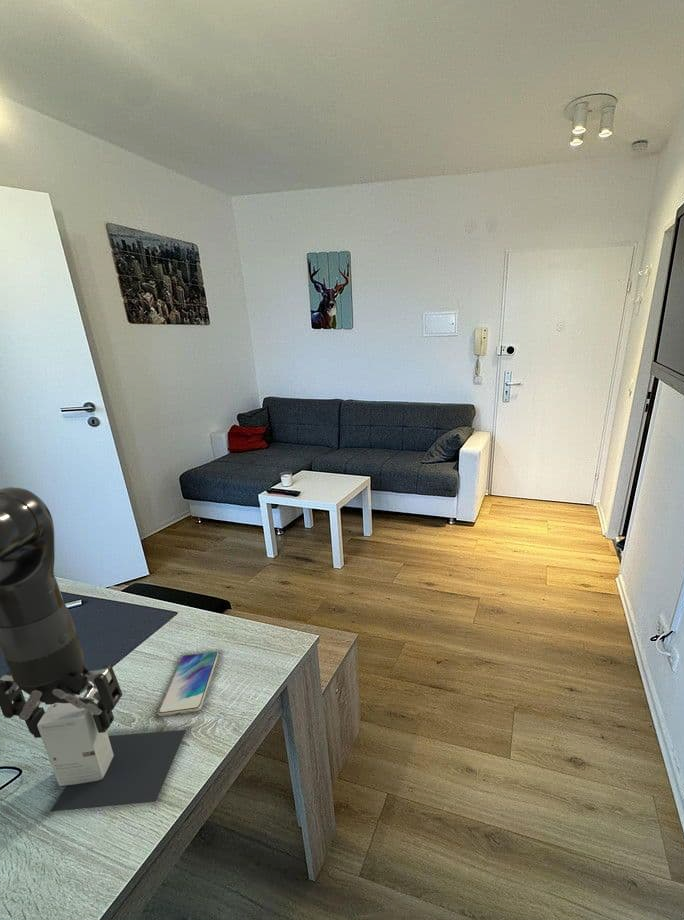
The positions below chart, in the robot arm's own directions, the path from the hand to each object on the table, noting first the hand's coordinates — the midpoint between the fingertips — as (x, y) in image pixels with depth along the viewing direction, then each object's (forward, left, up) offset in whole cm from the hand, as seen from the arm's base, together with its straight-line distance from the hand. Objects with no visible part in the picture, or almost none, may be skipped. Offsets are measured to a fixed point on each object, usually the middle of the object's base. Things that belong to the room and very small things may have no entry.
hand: (74, 730), depth 62 cm
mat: (+5, 0, -9) cm, 10 cm away
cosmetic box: (0, 0, -8) cm, 8 cm away
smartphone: (+9, +17, -9) cm, 21 cm away
